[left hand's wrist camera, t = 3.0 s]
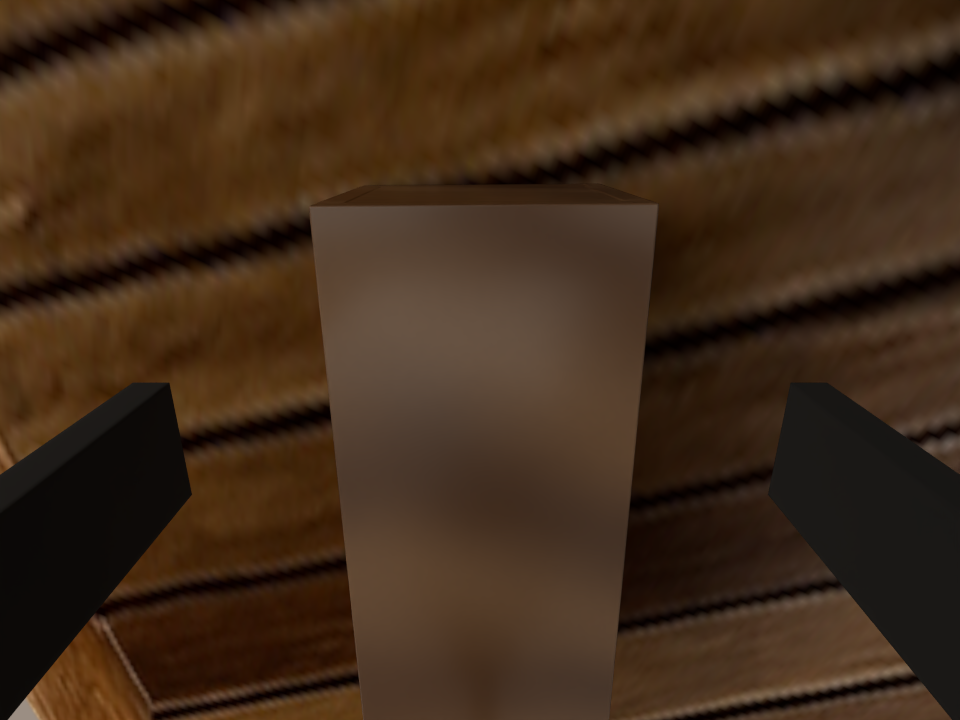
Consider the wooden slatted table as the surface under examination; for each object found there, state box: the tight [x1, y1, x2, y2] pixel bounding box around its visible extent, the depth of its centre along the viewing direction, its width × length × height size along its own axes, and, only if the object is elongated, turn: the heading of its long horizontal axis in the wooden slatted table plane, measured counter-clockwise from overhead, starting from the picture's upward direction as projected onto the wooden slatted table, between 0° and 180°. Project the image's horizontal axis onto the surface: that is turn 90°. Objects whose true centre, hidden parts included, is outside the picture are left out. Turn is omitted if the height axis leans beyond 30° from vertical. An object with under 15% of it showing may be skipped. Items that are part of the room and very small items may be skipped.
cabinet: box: [309, 184, 659, 720], centre depth 24 cm, size 20×10×8 cm, turn 0°
